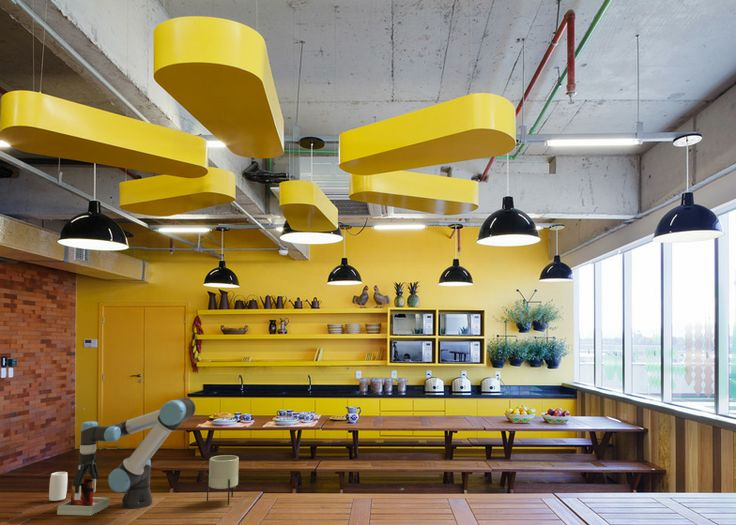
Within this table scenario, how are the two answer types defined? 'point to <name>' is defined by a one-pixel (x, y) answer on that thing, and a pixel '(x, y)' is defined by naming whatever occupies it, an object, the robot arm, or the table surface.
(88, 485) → the mug
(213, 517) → the table surface
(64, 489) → the cup
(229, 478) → the planter
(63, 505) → the tray
